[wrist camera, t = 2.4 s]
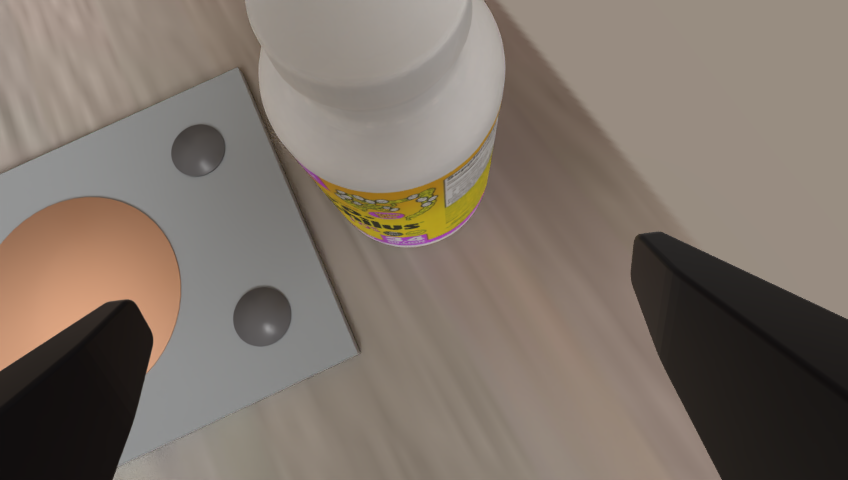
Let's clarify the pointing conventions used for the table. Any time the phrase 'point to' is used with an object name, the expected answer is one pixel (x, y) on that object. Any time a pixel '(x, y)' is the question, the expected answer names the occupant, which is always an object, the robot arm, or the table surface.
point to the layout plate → (174, 257)
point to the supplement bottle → (386, 106)
